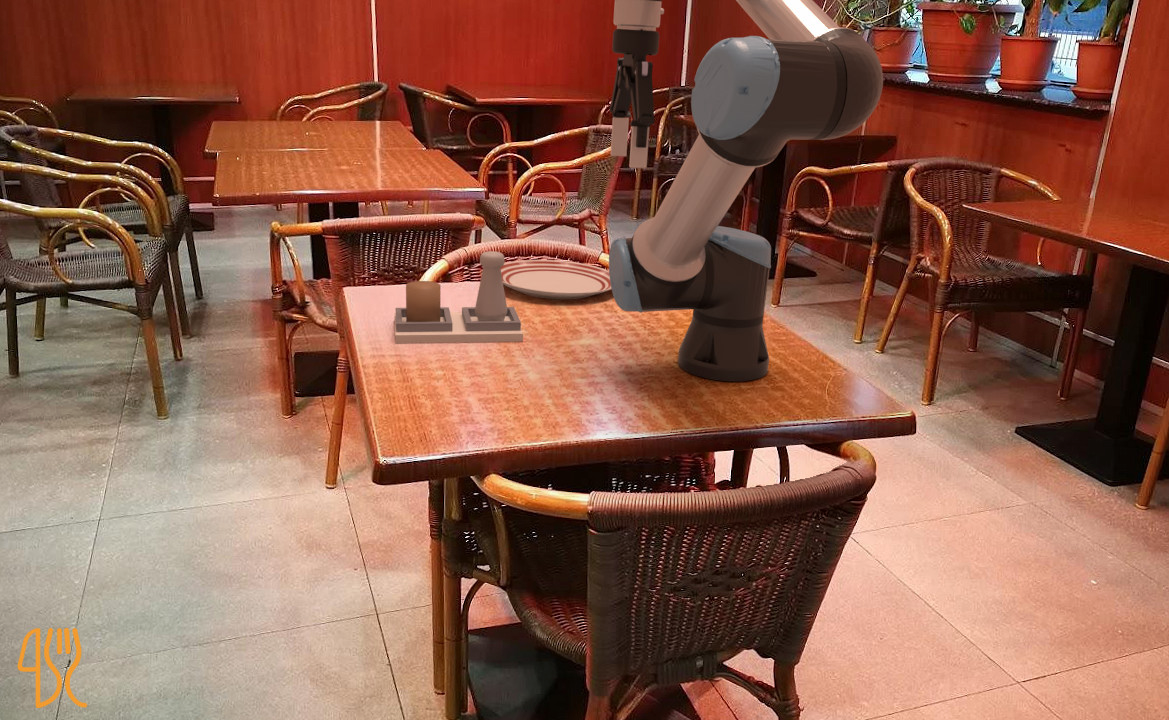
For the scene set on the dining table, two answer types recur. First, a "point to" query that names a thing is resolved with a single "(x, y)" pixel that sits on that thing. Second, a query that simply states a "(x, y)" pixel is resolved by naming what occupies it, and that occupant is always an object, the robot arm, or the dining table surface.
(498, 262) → the salt shaker
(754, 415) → the dining table surface
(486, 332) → the board
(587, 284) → the dinner plate
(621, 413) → the dining table surface
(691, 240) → the robot arm
